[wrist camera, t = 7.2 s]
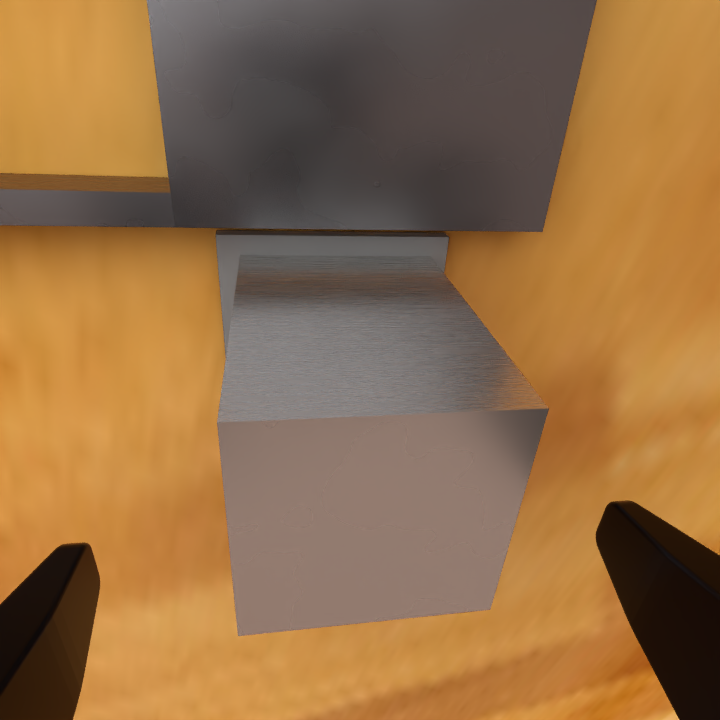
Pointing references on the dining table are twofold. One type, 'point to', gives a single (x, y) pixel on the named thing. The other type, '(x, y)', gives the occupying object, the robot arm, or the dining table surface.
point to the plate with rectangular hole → (342, 118)
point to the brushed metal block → (366, 443)
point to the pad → (315, 251)
